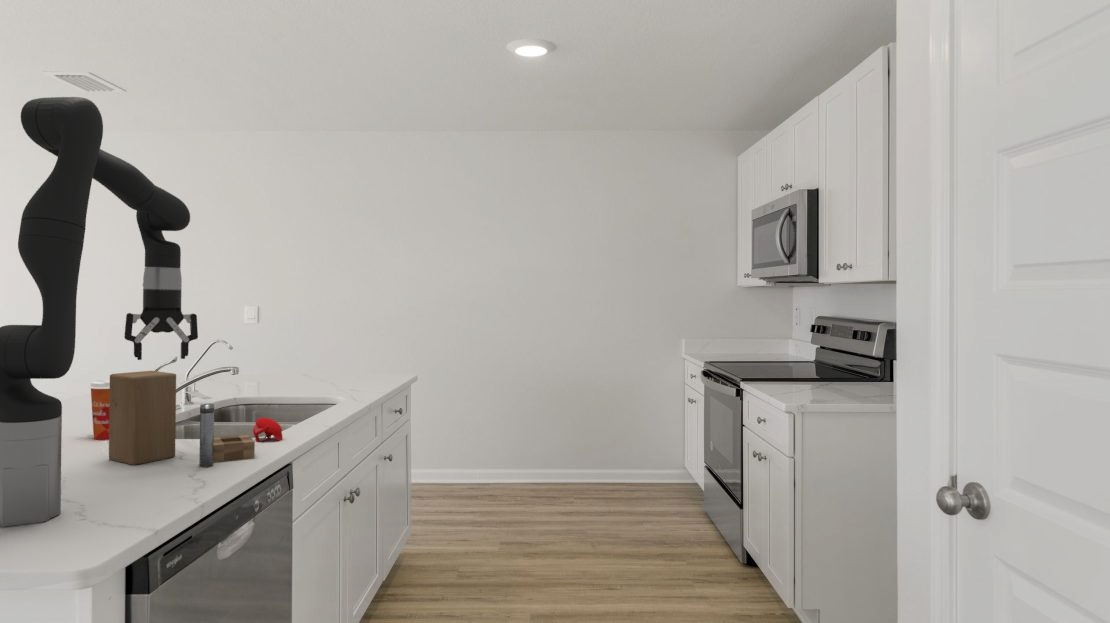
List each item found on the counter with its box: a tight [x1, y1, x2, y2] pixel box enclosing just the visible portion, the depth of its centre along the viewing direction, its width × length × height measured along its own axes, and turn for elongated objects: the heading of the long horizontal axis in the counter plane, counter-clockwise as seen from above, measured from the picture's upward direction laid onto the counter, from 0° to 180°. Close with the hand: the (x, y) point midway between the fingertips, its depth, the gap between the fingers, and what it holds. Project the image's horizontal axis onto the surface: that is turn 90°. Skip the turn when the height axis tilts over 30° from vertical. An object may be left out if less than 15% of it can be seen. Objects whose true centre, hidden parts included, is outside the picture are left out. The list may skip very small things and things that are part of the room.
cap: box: [252, 417, 283, 442], centre depth 180 cm, size 8×6×6 cm
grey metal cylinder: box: [198, 403, 215, 468], centre depth 152 cm, size 3×3×14 cm
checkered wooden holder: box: [213, 434, 256, 463], centre depth 161 cm, size 9×9×4 cm
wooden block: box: [108, 370, 177, 466], centre depth 157 cm, size 10×10×20 cm
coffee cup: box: [88, 379, 110, 441], centre depth 177 cm, size 8×8×15 cm
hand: (161, 359), depth 152 cm, fingers open, 8 cm apart
